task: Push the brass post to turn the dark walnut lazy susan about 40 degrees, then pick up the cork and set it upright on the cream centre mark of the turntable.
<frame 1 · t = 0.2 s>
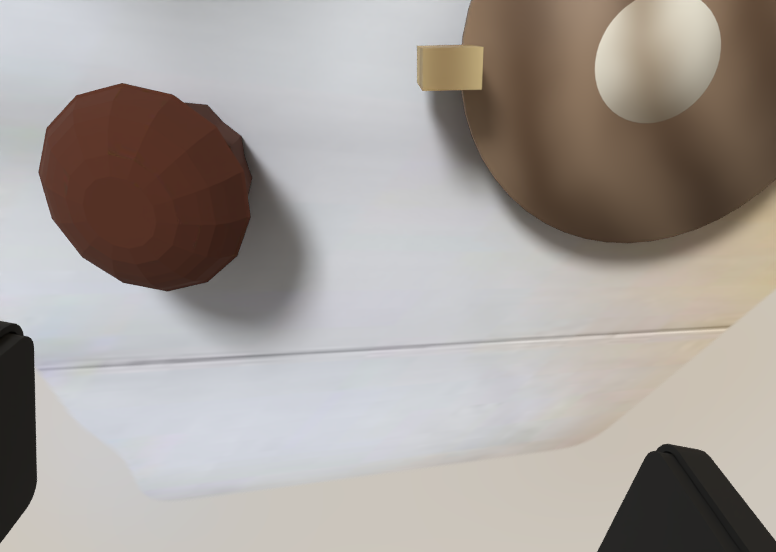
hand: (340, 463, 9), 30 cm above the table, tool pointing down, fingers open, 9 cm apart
turntable: (659, 67, 31), point 5 cm above the table, hinge at 0.0°
muffin: (185, 167, 37), on the table
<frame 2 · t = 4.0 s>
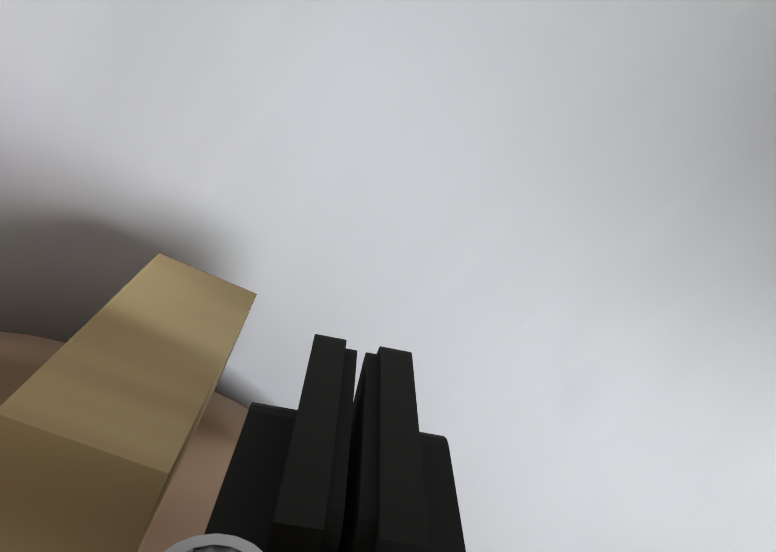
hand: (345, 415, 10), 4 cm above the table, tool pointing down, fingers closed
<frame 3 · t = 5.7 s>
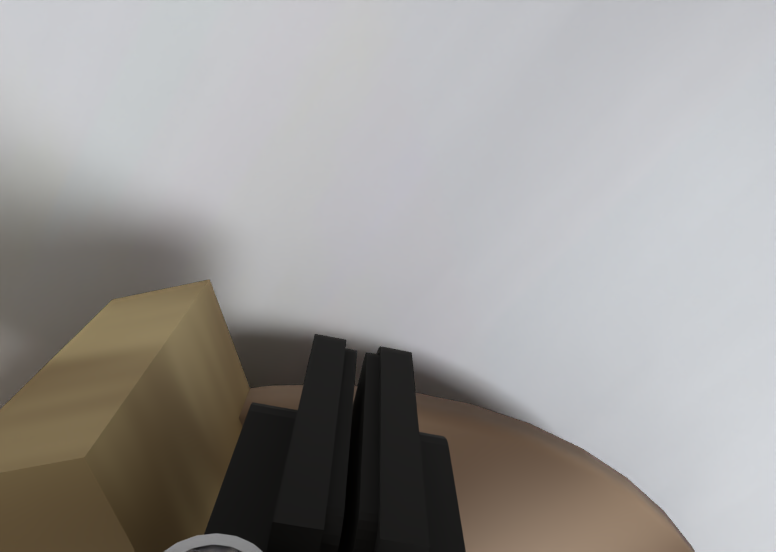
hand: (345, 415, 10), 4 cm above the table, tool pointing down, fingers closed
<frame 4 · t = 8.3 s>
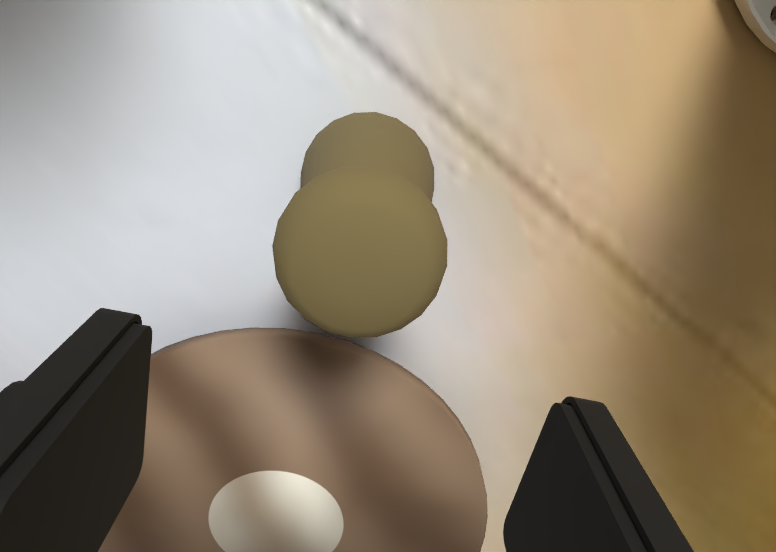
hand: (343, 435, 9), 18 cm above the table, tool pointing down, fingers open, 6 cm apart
turntable: (261, 551, 28), point 5 cm above the table, hinge at 44.8°
cork: (368, 179, 26), on the table
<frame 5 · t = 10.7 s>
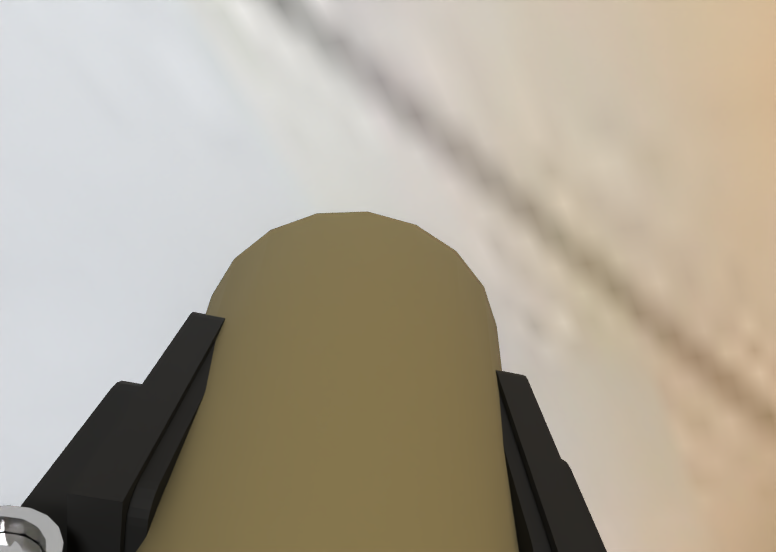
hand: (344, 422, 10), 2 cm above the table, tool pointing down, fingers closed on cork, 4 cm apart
cork: (352, 346, 12), on the table, touching gripper
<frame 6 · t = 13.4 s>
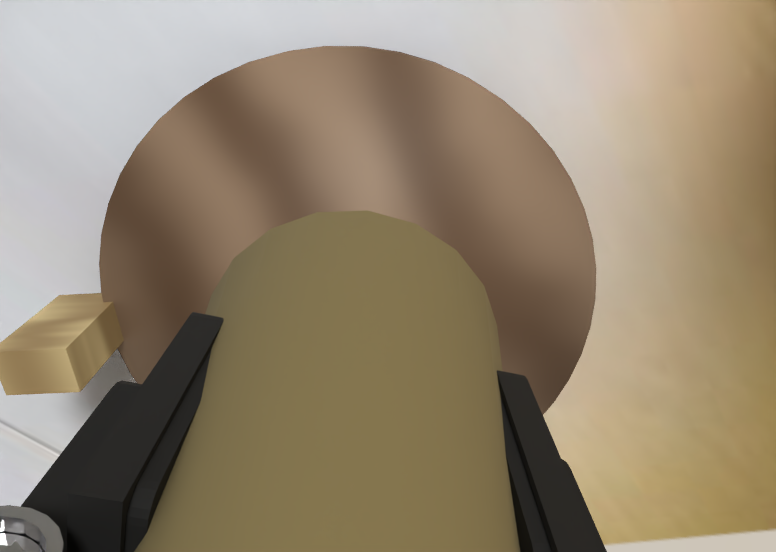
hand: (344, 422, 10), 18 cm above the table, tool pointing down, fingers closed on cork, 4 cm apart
turntable: (334, 333, 24), point 5 cm above the table, hinge at 44.8°
cork: (352, 345, 12), point 15 cm above the table, touching gripper
when the fingers open (7 cm above the table, at t = 16.1 s): cork drops 1 cm, resting on turntable.
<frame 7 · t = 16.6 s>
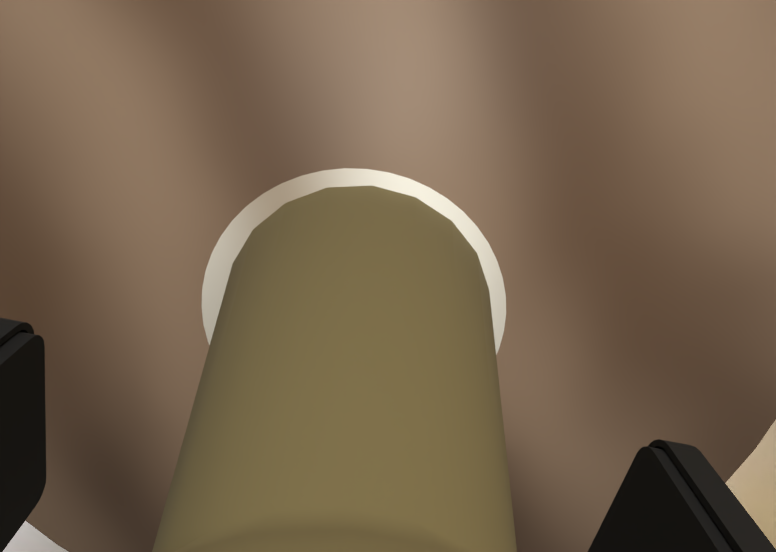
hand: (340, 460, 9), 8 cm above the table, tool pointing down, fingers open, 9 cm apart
turntable: (327, 365, 12), point 5 cm above the table, hinge at 44.8°, touching cork
cork: (358, 309, 13), point 3 cm above the table, touching turntable
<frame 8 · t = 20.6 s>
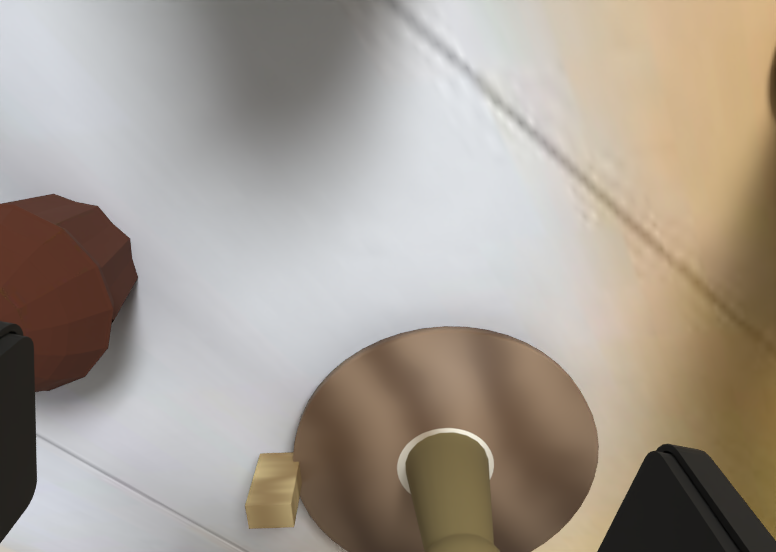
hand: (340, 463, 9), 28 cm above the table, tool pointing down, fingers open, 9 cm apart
turntable: (440, 485, 39), point 5 cm above the table, hinge at 44.8°, touching cork
cork: (446, 464, 41), point 3 cm above the table, touching turntable
muffin: (71, 259, 38), on the table
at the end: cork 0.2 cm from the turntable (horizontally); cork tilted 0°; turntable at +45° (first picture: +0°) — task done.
